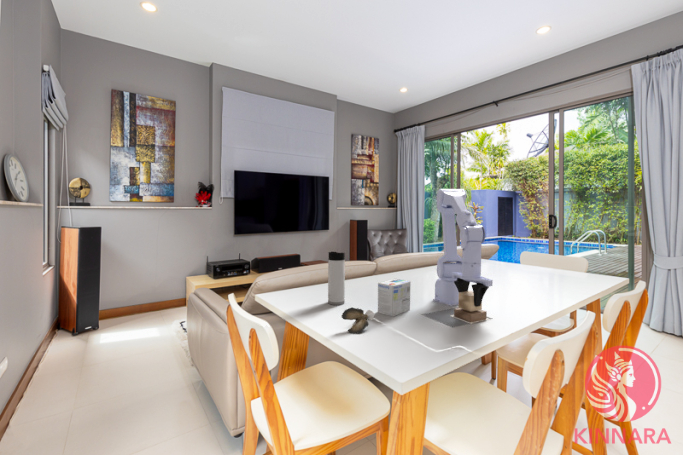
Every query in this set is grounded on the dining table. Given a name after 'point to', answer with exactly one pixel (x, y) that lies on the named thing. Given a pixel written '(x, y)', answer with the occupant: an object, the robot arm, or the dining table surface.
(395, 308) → the light bulb box
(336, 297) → the travel mug
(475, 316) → the walnut slab
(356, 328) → the eagle figurine
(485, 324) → the dining table surface
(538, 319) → the dining table surface
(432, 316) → the mat
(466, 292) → the oak cube
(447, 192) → the robot arm
